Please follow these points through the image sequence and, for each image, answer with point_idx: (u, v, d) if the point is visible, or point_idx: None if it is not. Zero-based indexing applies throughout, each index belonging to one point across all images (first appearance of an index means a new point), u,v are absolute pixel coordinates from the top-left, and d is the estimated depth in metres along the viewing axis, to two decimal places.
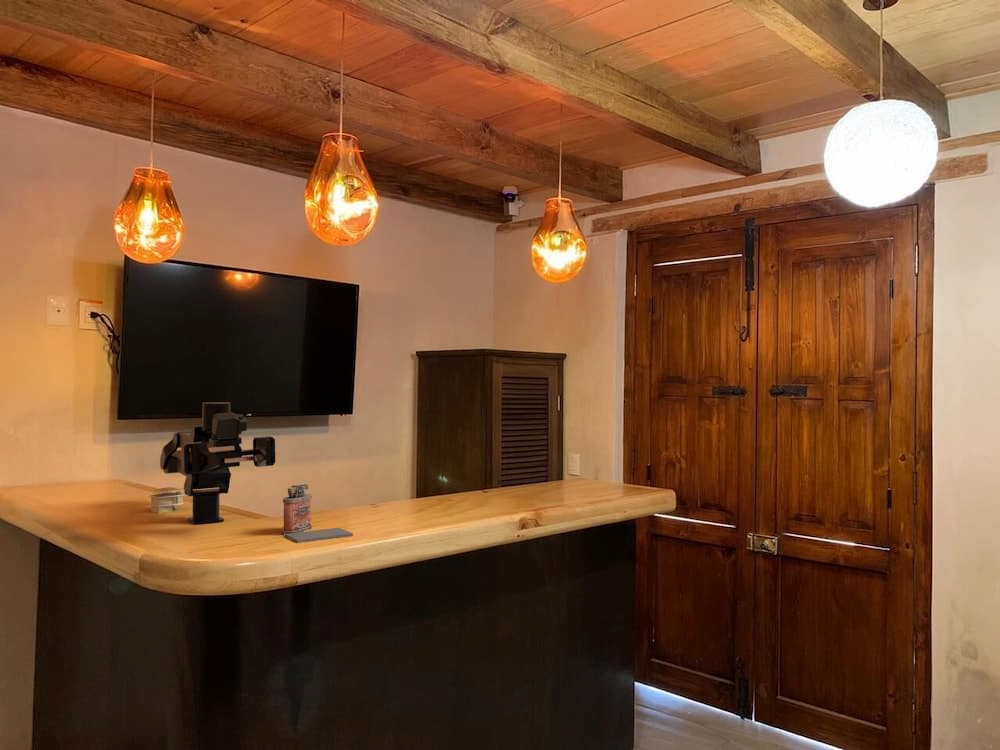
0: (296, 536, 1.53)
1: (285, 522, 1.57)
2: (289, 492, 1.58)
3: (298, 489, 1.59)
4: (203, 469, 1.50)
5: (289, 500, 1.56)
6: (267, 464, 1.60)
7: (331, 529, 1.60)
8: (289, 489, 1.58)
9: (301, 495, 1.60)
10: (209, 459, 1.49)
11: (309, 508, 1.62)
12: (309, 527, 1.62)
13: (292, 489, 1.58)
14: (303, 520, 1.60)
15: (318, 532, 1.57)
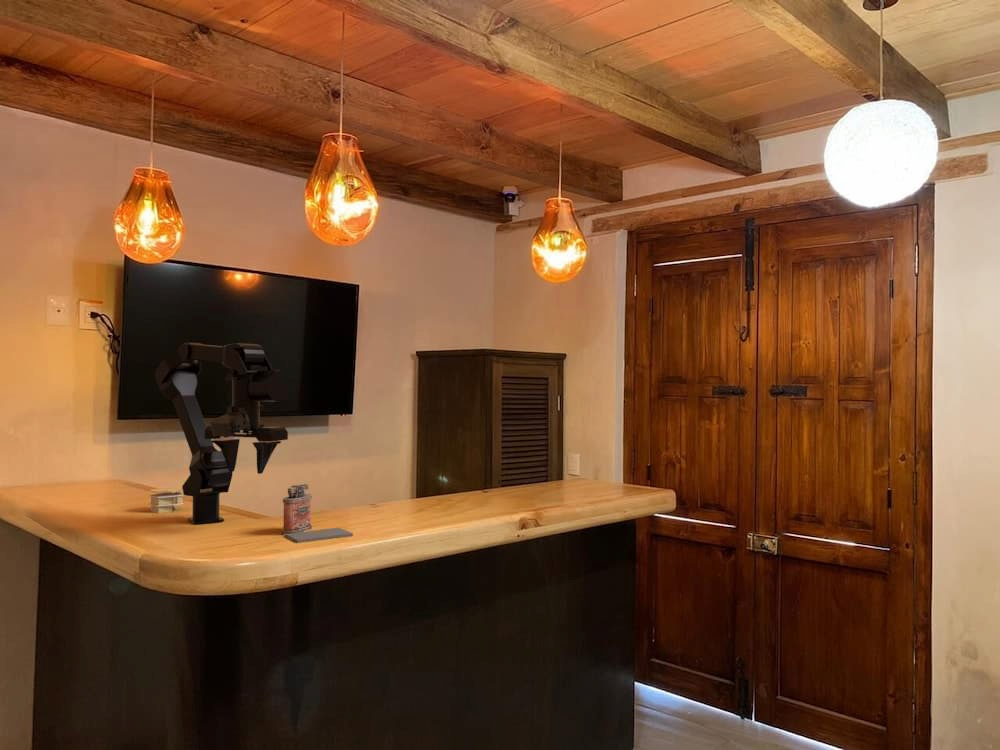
0: (296, 536, 1.53)
1: (285, 522, 1.57)
2: (289, 492, 1.58)
3: (298, 489, 1.59)
4: None
5: (289, 500, 1.56)
6: None
7: (331, 529, 1.60)
8: (289, 489, 1.58)
9: (301, 495, 1.60)
10: None
11: (309, 508, 1.62)
12: (309, 527, 1.62)
13: (292, 489, 1.58)
14: (303, 520, 1.60)
15: (318, 532, 1.57)
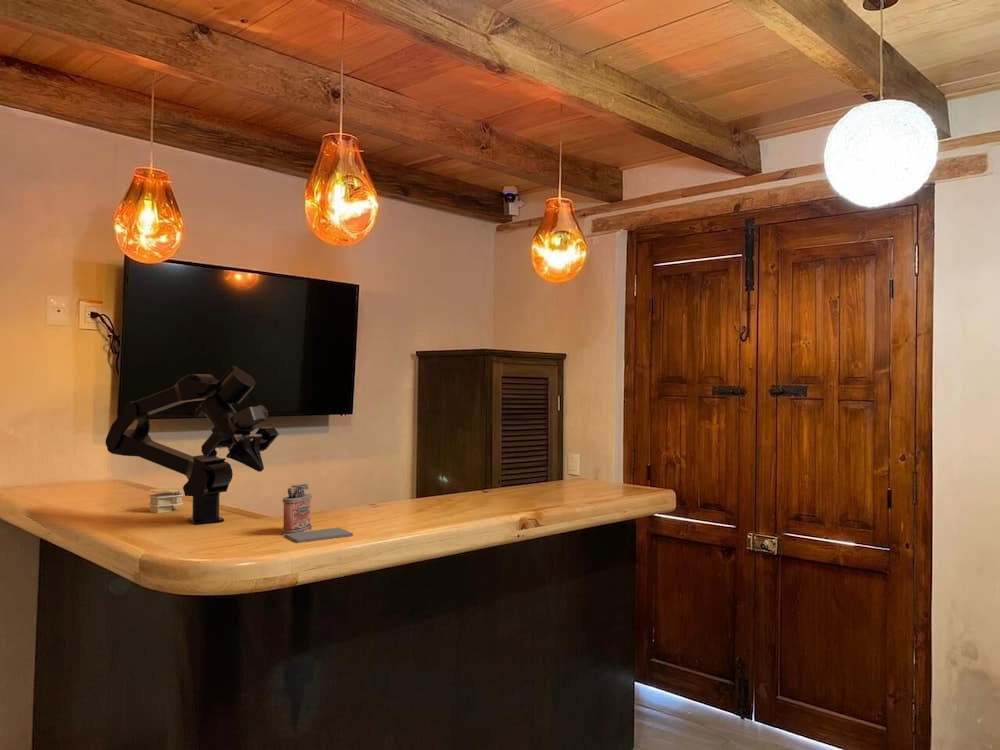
0: (296, 536, 1.53)
1: (285, 522, 1.57)
2: (289, 492, 1.58)
3: (298, 489, 1.59)
4: (238, 460, 1.64)
5: (289, 499, 1.56)
6: None
7: (331, 529, 1.60)
8: (289, 489, 1.58)
9: (301, 495, 1.60)
10: (251, 460, 1.64)
11: (309, 508, 1.62)
12: (309, 527, 1.62)
13: (292, 489, 1.58)
14: (303, 520, 1.60)
15: (318, 532, 1.57)
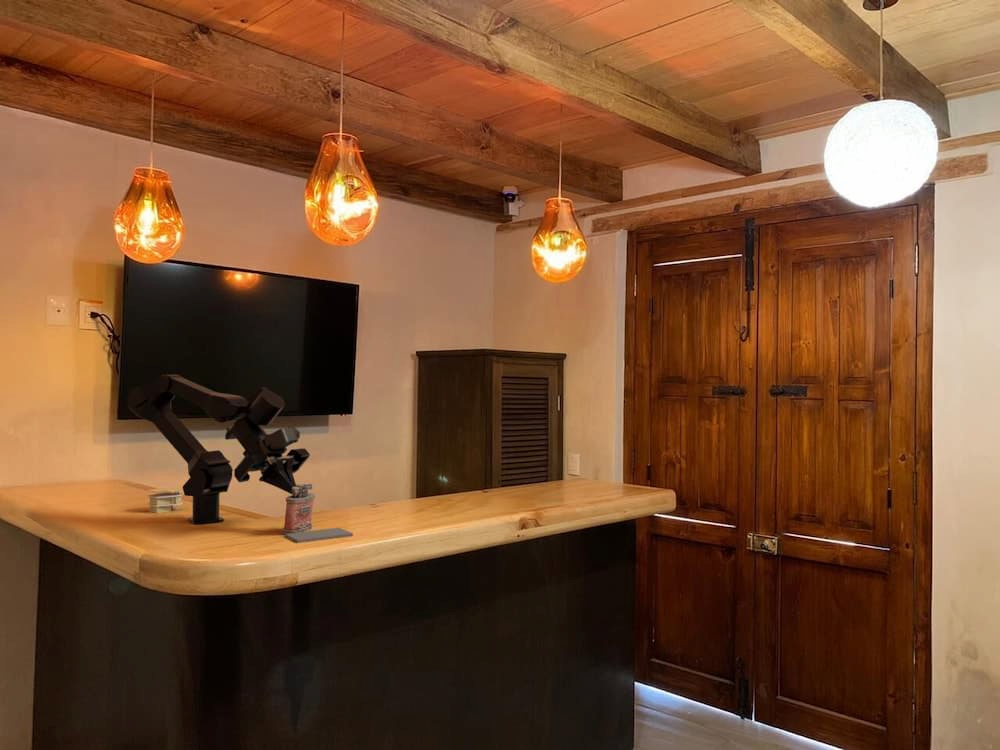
0: (296, 536, 1.53)
1: (286, 521, 1.57)
2: (293, 492, 1.57)
3: (302, 489, 1.59)
4: (271, 483, 1.61)
5: (292, 500, 1.56)
6: None
7: (331, 529, 1.60)
8: (293, 489, 1.57)
9: (304, 495, 1.60)
10: (284, 483, 1.60)
11: (311, 508, 1.62)
12: (309, 527, 1.62)
13: (296, 489, 1.57)
14: (304, 520, 1.60)
15: (318, 532, 1.57)
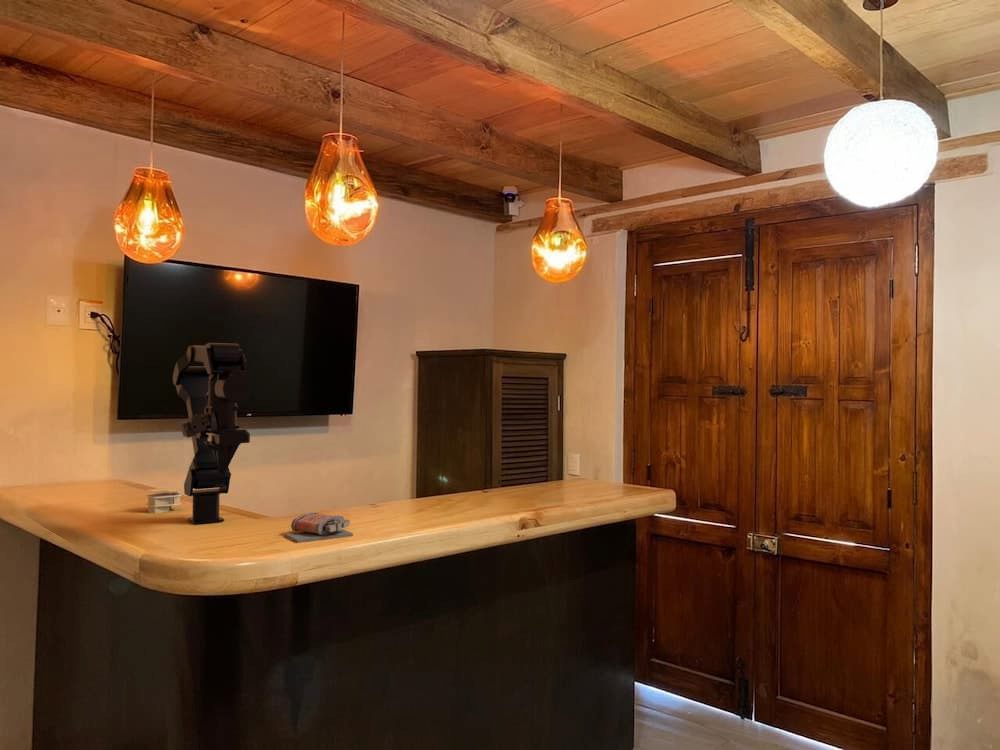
0: (296, 536, 1.53)
1: (301, 526, 1.55)
2: (327, 529, 1.53)
3: (335, 530, 1.55)
4: None
5: (319, 533, 1.53)
6: (238, 444, 1.60)
7: None
8: (329, 529, 1.53)
9: None
10: None
11: None
12: None
13: (331, 531, 1.53)
14: None
15: None
